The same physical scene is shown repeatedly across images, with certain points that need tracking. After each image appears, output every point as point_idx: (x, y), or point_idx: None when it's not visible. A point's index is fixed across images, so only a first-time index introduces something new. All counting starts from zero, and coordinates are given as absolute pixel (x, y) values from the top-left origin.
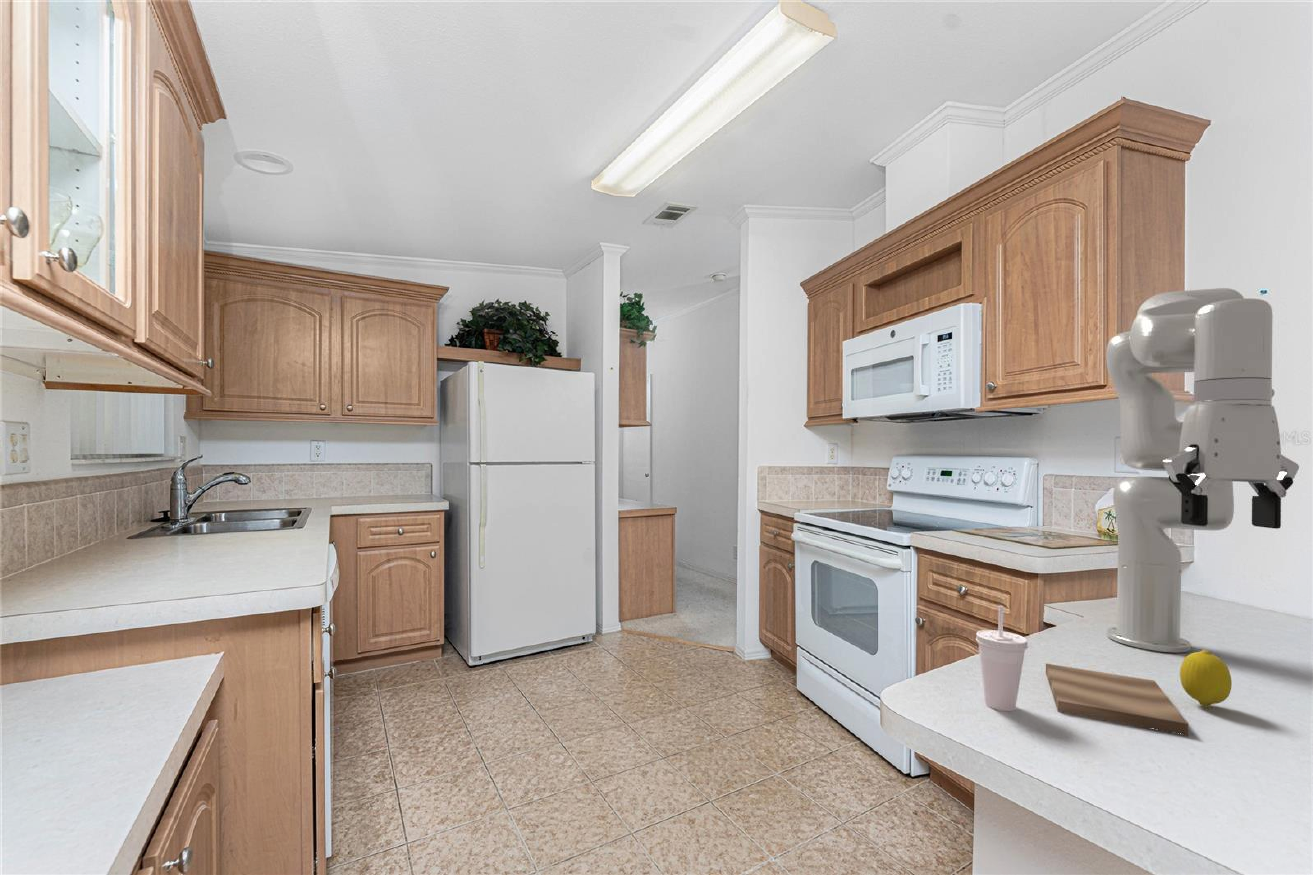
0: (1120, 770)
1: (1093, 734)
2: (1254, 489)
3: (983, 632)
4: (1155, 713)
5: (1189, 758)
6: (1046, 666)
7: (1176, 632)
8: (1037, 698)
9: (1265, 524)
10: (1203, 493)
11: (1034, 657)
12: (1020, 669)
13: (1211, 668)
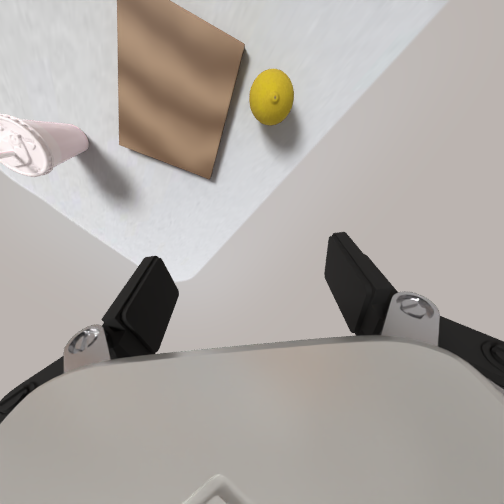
0: (148, 229)
1: (144, 185)
2: (387, 318)
3: None
4: (194, 161)
5: (193, 210)
6: None
7: None
8: (108, 108)
9: (327, 264)
10: None
11: None
12: (65, 158)
13: (265, 120)
